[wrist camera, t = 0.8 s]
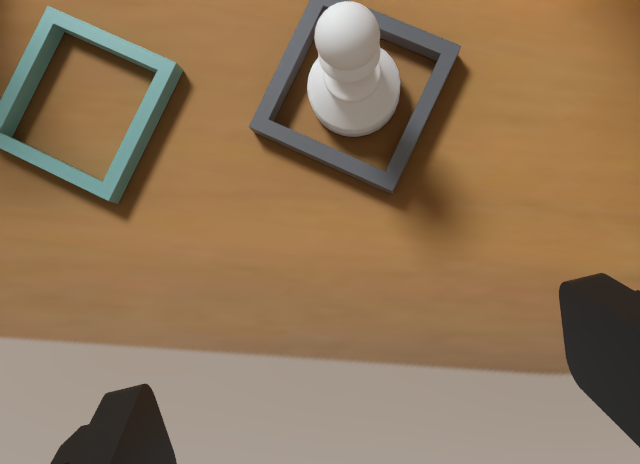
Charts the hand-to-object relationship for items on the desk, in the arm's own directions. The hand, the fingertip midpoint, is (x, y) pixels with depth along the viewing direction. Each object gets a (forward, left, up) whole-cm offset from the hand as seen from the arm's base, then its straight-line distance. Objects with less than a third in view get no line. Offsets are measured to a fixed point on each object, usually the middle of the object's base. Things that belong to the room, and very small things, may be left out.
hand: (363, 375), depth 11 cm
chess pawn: (-11, -6, -20) cm, 24 cm away
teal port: (-4, -20, -20) cm, 29 cm away
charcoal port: (-11, -6, -20) cm, 24 cm away
